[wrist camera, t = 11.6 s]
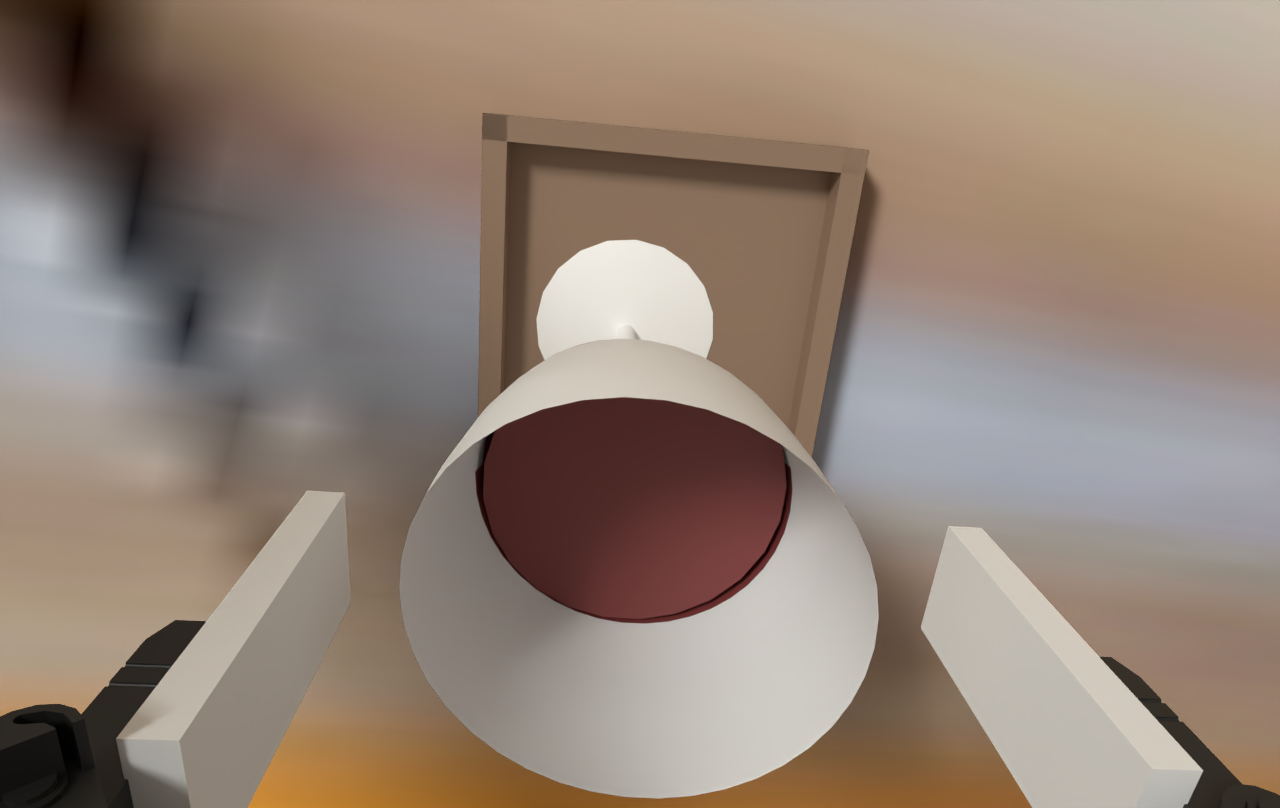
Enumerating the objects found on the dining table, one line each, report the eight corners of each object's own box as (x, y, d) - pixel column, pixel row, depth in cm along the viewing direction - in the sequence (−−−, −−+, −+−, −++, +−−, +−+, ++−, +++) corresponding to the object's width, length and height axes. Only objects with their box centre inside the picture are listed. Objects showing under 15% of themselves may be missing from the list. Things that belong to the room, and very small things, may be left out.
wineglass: (613, 185, 33) (614, 286, 12) (763, 329, 35) (974, 617, 15) (485, 328, 35) (301, 623, 14) (635, 455, 37) (665, 862, 17)
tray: (490, 113, 32) (482, 113, 30) (853, 148, 33) (869, 150, 31) (482, 554, 40) (475, 577, 38) (777, 570, 41) (785, 594, 39)
